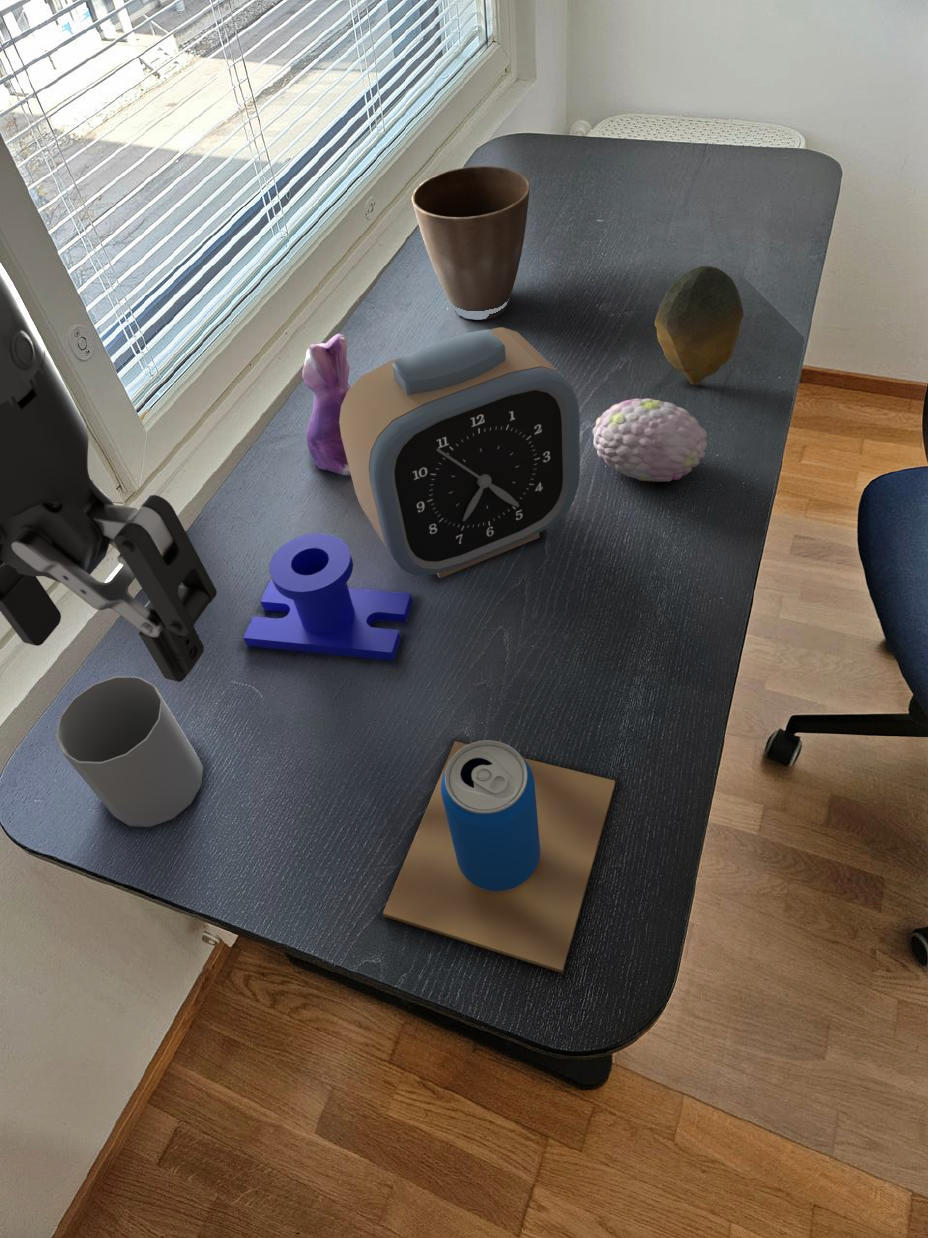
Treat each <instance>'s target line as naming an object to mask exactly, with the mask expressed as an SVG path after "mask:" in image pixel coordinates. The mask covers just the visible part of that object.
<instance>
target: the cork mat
mask: <svg viewBox="0 0 928 1238" xmlns="http://www.w3.org/2000/svg"><path fill="white" fill-rule="evenodd" d="M468 744H469V743H465V742H460V741H456V740H455V741H454V743H453V745H452V747H451V749H450V751H449V755H448V757H447V759H446V762H445V764H444V766H443V768H442V771H441V774H440V776H439V779H438V781H437V784H436V785H435V788H434V791H433V793H432V795H431V798H430V799H429V803H428V805H427V807H426V809H425V812H424V815H423V817H422V819H421V821H420V824H419V826H418V829H417V831H416V833H415V835H414V838H413V841H412V843H411V845H410V848H409V850H408V852H407V855H406V856H405V857H406V858H405V859H404V861H403V864H402V867H401V868H400V871H399V874H398V876H397V878H396V881H395V883H394V886H393V888H392V890H391V893H390V895H389V897H388V900H387V901H386V905H385V907H384V909H383V912H382V915H383V917H384V918H387V919H391V920H393V921H394V920H395V921H396V922H400V923H404V924H407V925H410V926H414V927H416V928H418V929H422V930H426V931H429V932H432V933H435V934H438V935H440V936H441V935H442V936H445V937H447V938H451V939H454V940H457V941H460V942H463V943H467V944H470V945H473V946H476V947H479V948H482V949H485V950H488V951H492V952H494V953H498V954H501V955H504V956H507V957H511V958H513V959H516V960H520V961H522V962H526V963H529V964H533V965H535V966H539V967H542V968H545V969H548V970H551V971H553V972H554V971H555V972H556V973H557V972H558V973H561V974H563V973H564V970H565V966H566V963H567V959H568V956H569V952H570V948H571V946H572V942H573V938H574V934H575V930H576V927H577V923H578V920H579V916H580V912H581V909H582V905H583V901H584V899H585V894H586V891H587V888H588V883H589V880H590V877H591V873H592V869H593V866H594V862H595V860H596V855H597V852H598V848H599V844H600V842H601V841H600V840H601V837H602V835H603V834H602V833H603V829H604V826H605V823H606V820H607V815H608V812H609V809H610V805H611V801H612V798H613V794H614V791H615V787H616V780H614V779H610V778H607V777H602V776H598V775H594V774H589V773H585V772H583V771H578V770H575V769H574V770H573V769H570V768H565V767H561V766H559V765H553V764H549V763H546V762H542V761H538V760H533V759H529V758H525V757H523V758H524V760H525V761H526V762H527V763H528V765H529V766H530V768H531V770H532V773H533V776H534V782H535V793H536V805H537V817H538V829H539V841H540V859H539V862H538V865H537V867H536V869H535V871H534V873H533V874H532V875H531V877H530V878H529V879H528V880H527V881H525V882H524V883H523V884H521V885H519V886H518V887H516V888H513V889H510V890H506V891H488V890H484V889H482V888H479V887H477V886H475V885H474V884H472V883H471V882H470V881H469V880H468V879H467V878H466V877H465V876H464V875H463V874H462V872H461V870H460V868H459V865H458V862H457V858H456V854H455V850H454V845H453V841H452V837H451V833H450V829H449V825H448V820H447V816H446V812H445V808H444V804H443V800H442V795H441V782H442V777H443V774H444V772H445V770H446V768H447V765H448V763H449V761H450V759H451V758H452V757H453V755H454V754H455V753H456V752H457V751H459V750H460V749H461V748H463V747H464V746H466V745H468Z"/></svg>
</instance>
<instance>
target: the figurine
mask: <svg viewBox="0 0 928 1238" xmlns="http://www.w3.org/2000/svg"><path fill="white" fill-rule="evenodd" d="M349 375H350V363H349V361H348V341H347V338H346V336H345V335H344V334H342V333H337V334H335V335H334V336H332V337H331V338H330V339H329V340H328V341H327V342H325V343H323V342H322V343H317V344H315V343H312V344H310V345H309V346H308V349H307V350H306V354H305V360H304V363H303V367H302V376H301V377H302V380H303V382H304V384H305V385H306V386H307V387H308V389H309V390H310V391H312V392H313V393H314V398H313V407H312V413H311V416H310V419H309V423H308V424H307V425H308V426H307V431H306V444H307V447H308V450H309V453H310V455H311V457H312V459H313V461H314V463H315V465H316V467H317V468H318V469H320V470H323V471H329V472H331V473H335V474H338V475H341V476H351V473H350V469H349V465H348V461H347V457H346V453H345V450H344V446H343V442H342V438H341V431H340V424H339V420H340V411H341V405H342V403H343V400H344V398H345V396H346V394H347V391H348V390H349V389H350V388H351V387H352V386H351V385H350V383H349Z"/></svg>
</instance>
